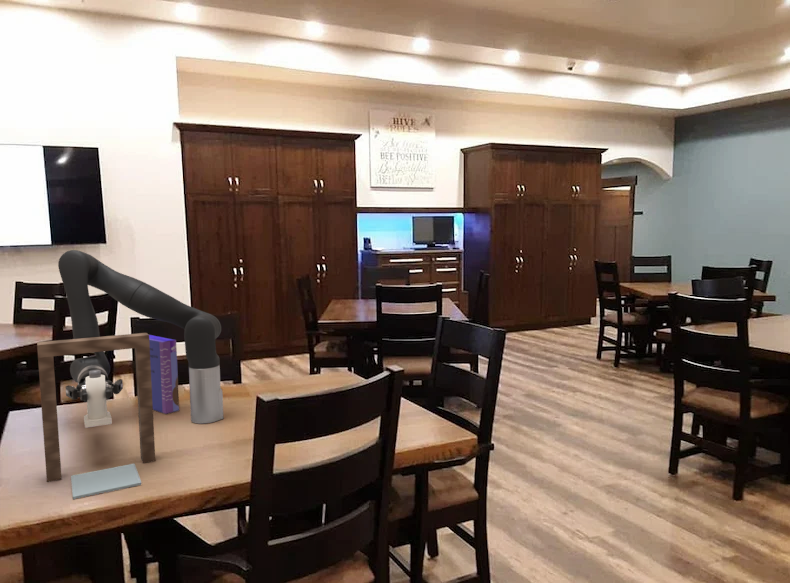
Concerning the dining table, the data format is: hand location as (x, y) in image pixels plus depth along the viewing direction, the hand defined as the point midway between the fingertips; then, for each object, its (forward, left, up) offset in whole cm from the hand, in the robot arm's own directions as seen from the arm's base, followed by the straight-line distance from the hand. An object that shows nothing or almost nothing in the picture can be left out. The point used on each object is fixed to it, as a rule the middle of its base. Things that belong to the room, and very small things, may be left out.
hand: (97, 396), depth 143 cm
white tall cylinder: (0, -3, -7) cm, 8 cm away
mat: (0, +12, -18) cm, 21 cm away
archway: (0, +3, -18) cm, 18 cm away
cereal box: (-20, -43, -18) cm, 51 cm away
